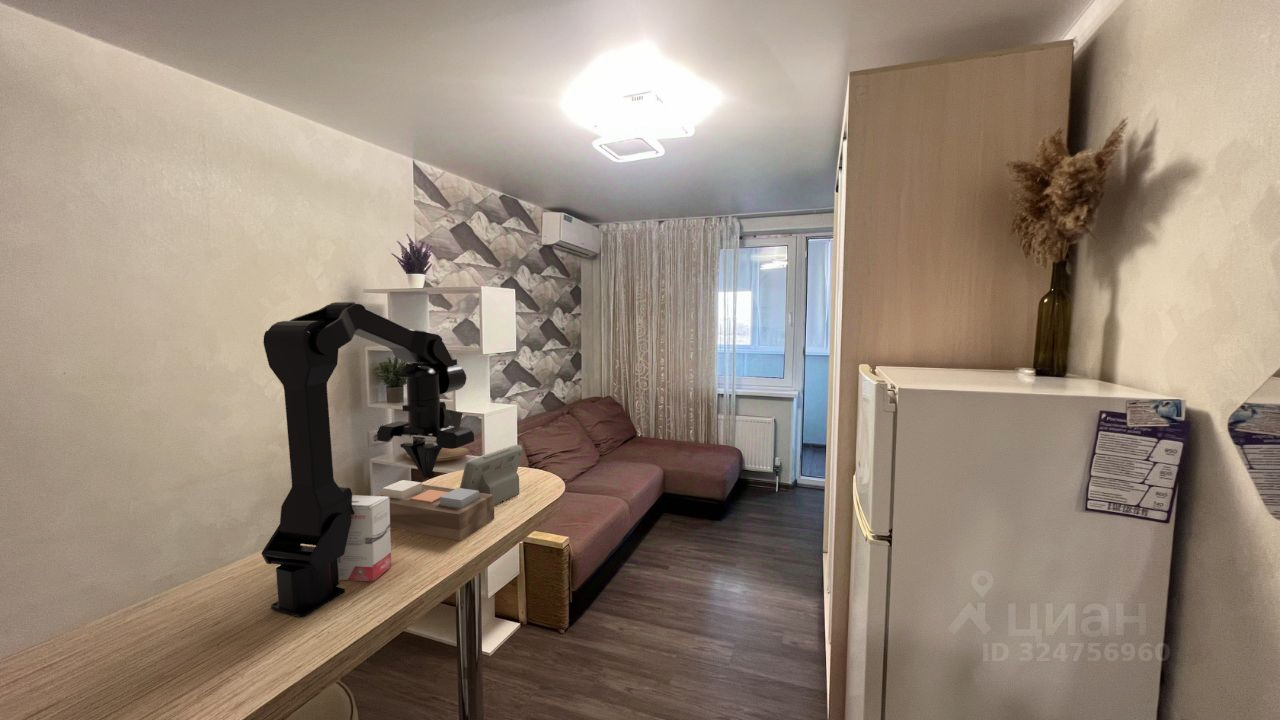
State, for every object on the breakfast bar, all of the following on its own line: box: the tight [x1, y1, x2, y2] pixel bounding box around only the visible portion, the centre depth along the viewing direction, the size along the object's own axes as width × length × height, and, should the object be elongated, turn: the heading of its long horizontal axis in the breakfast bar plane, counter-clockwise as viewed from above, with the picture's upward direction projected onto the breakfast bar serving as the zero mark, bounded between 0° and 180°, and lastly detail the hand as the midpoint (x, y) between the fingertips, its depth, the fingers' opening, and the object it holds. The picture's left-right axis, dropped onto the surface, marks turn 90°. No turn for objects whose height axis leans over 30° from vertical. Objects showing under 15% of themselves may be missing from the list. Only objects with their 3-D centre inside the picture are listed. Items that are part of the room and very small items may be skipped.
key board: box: [374, 483, 495, 542], centre depth 95 cm, size 10×22×5 cm, turn 71°
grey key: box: [440, 487, 479, 509], centre depth 92 cm, size 5×5×3 cm
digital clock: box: [459, 444, 523, 506], centre depth 107 cm, size 16×9×11 cm, turn 140°
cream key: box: [382, 479, 423, 499], centre depth 97 cm, size 5×5×3 cm
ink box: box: [337, 494, 392, 582], centre depth 76 cm, size 9×5×12 cm, turn 84°
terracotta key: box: [411, 490, 448, 504], centre depth 95 cm, size 5×5×3 cm
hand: (427, 477), depth 94 cm, fingers closed
